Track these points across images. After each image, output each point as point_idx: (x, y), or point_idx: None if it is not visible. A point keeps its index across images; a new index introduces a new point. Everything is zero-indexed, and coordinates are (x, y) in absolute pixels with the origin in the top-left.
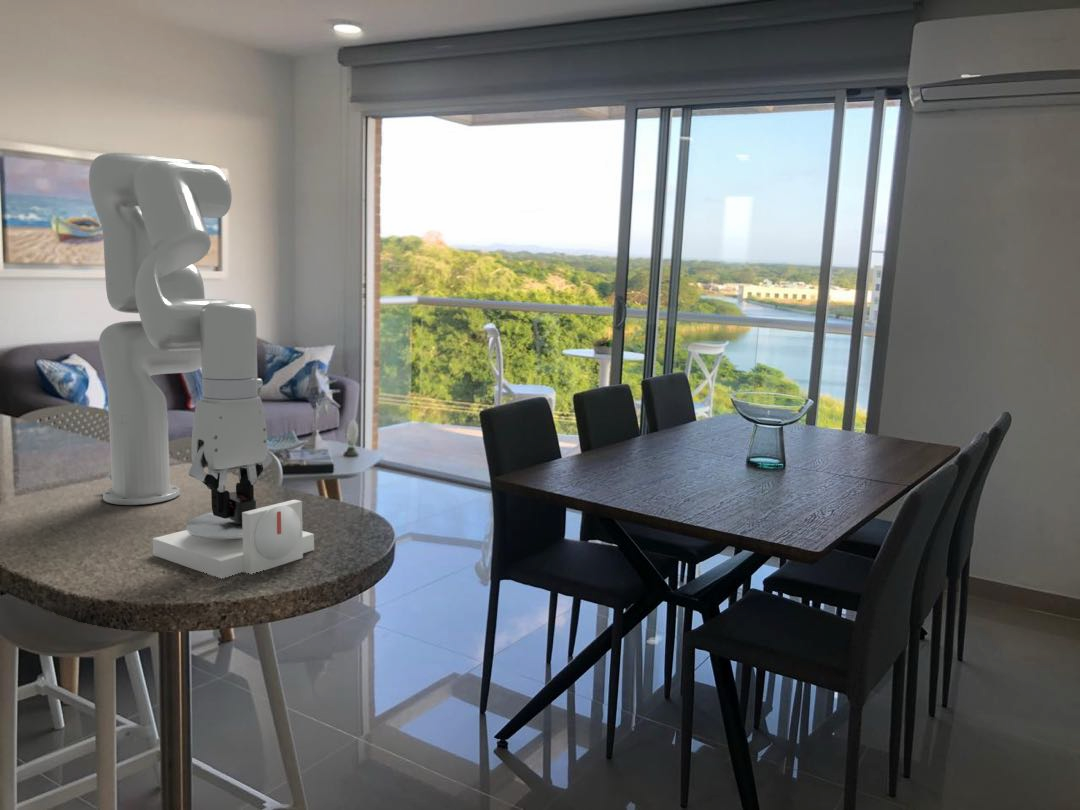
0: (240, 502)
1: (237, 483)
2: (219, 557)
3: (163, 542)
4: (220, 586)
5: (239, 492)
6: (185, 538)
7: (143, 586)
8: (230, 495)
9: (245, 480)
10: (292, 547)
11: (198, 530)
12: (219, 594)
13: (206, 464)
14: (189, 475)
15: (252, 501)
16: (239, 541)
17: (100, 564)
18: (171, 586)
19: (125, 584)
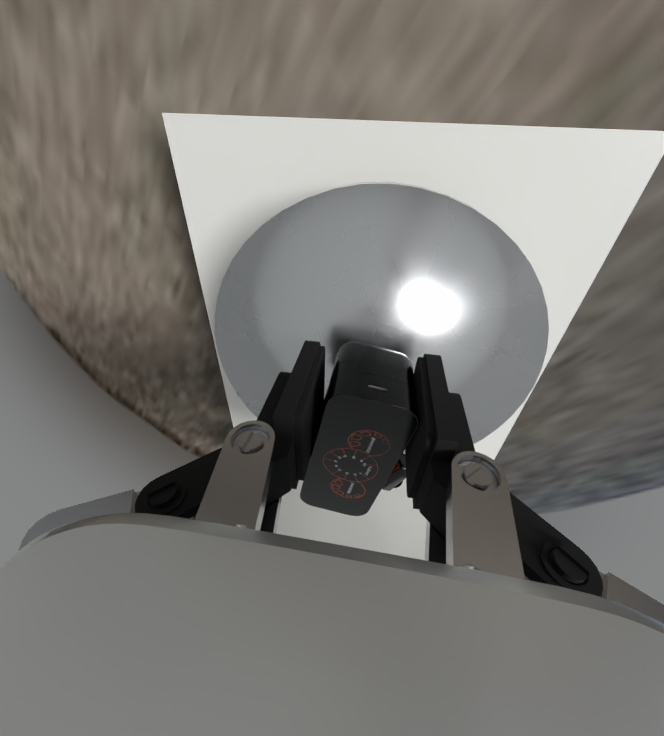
0: (304, 500)
1: (436, 444)
2: (242, 416)
3: (183, 199)
4: (230, 421)
5: (413, 431)
6: (255, 230)
7: (118, 324)
8: (346, 435)
9: (428, 510)
10: None
11: (228, 354)
12: (213, 438)
13: (185, 535)
14: (47, 517)
15: (343, 512)
16: None
17: (25, 46)
18: (163, 363)
19: (86, 285)
